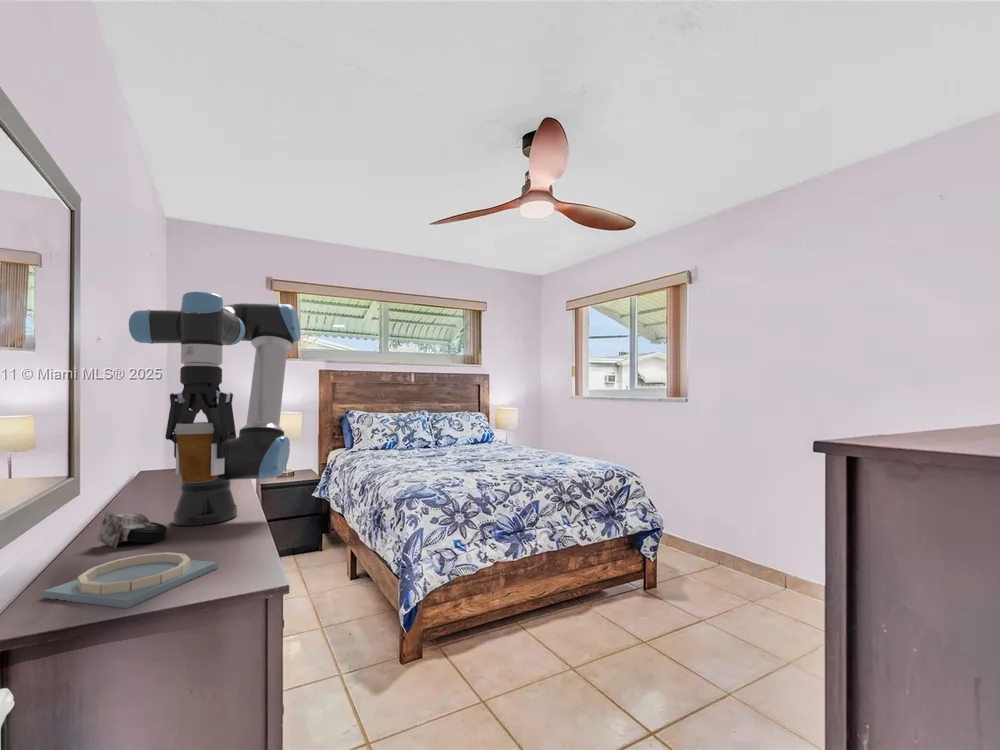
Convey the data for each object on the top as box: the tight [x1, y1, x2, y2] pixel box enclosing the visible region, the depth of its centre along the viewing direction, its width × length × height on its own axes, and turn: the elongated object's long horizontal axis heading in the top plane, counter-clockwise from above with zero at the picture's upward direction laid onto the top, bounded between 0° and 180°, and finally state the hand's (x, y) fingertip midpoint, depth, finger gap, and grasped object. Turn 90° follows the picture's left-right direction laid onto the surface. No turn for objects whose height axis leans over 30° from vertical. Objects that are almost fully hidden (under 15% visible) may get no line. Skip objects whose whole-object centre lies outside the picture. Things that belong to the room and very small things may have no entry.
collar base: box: [42, 551, 218, 609], centre depth 89 cm, size 18×18×3 cm
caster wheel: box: [96, 511, 168, 549], centre depth 113 cm, size 7×11×10 cm
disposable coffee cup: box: [174, 421, 221, 483], centre depth 101 cm, size 10×10×12 cm
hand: (200, 474), depth 101 cm, fingers closed on disposable coffee cup, 8 cm apart
